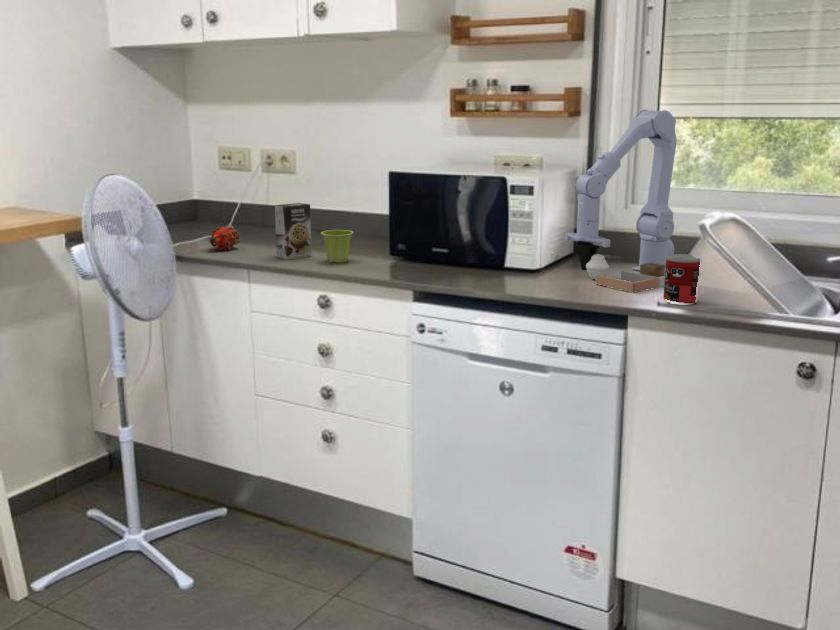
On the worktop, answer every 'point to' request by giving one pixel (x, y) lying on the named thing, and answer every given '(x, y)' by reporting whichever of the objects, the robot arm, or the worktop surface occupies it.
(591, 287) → the worktop surface
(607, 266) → the muffin
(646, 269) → the walnut block
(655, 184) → the robot arm
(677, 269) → the canned food
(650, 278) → the tray
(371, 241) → the worktop surface
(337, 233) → the plant pot
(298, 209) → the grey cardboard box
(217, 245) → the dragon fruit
